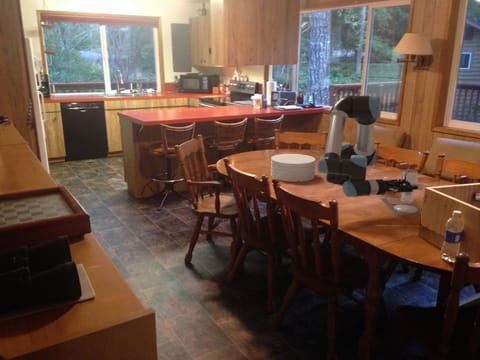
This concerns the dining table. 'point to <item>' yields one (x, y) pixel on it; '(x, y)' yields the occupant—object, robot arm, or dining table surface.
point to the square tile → (396, 201)
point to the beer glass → (408, 179)
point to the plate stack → (292, 167)
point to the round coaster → (405, 208)
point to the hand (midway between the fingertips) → (417, 184)
